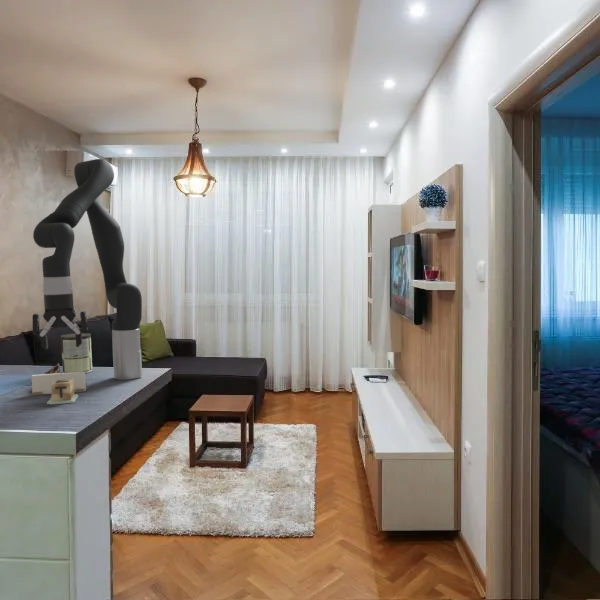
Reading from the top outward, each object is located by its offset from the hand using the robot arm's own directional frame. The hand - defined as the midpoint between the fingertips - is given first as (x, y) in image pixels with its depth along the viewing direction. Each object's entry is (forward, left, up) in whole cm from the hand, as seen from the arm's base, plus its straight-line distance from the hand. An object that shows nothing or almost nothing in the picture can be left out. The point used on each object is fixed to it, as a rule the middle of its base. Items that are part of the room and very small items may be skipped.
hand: (62, 347), depth 137 cm
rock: (+9, -18, -16) cm, 26 cm away
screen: (+4, -10, -16) cm, 19 cm away
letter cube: (0, 0, -15) cm, 15 cm away
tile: (+1, 0, -16) cm, 16 cm away
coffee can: (+4, -40, -16) cm, 43 cm away
